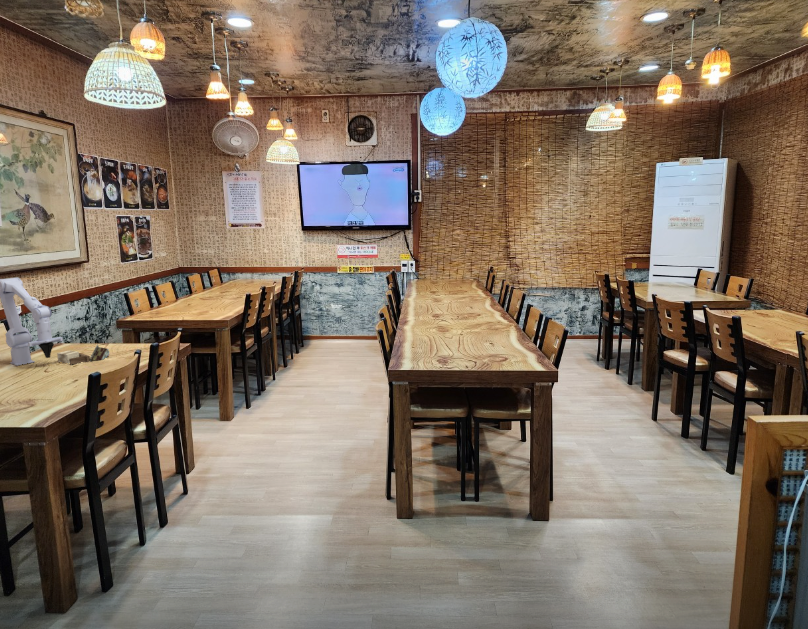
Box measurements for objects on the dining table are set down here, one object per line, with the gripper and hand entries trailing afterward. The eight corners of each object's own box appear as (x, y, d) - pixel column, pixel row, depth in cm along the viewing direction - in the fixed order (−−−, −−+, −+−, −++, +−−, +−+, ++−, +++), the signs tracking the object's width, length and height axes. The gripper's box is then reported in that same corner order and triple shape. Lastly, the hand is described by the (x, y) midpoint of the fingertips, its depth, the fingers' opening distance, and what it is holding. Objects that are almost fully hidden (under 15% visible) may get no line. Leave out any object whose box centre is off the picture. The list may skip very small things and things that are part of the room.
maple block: (58, 362, 268) (57, 353, 267) (69, 359, 273) (68, 350, 272) (68, 364, 265) (67, 354, 264) (79, 361, 270) (78, 351, 269)
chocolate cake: (104, 362, 269) (111, 342, 276) (88, 359, 266) (97, 340, 274) (105, 370, 276) (112, 351, 283) (90, 368, 274) (98, 349, 281)
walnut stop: (57, 360, 272) (56, 354, 271) (74, 356, 278) (74, 351, 278) (72, 365, 261) (71, 359, 261) (90, 361, 268) (89, 355, 268)
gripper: (30, 334, 250) (34, 361, 252) (63, 329, 261) (67, 355, 264) (24, 333, 254) (28, 359, 256) (57, 327, 265) (61, 353, 268)
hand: (47, 357), depth 260 cm, fingers closed
